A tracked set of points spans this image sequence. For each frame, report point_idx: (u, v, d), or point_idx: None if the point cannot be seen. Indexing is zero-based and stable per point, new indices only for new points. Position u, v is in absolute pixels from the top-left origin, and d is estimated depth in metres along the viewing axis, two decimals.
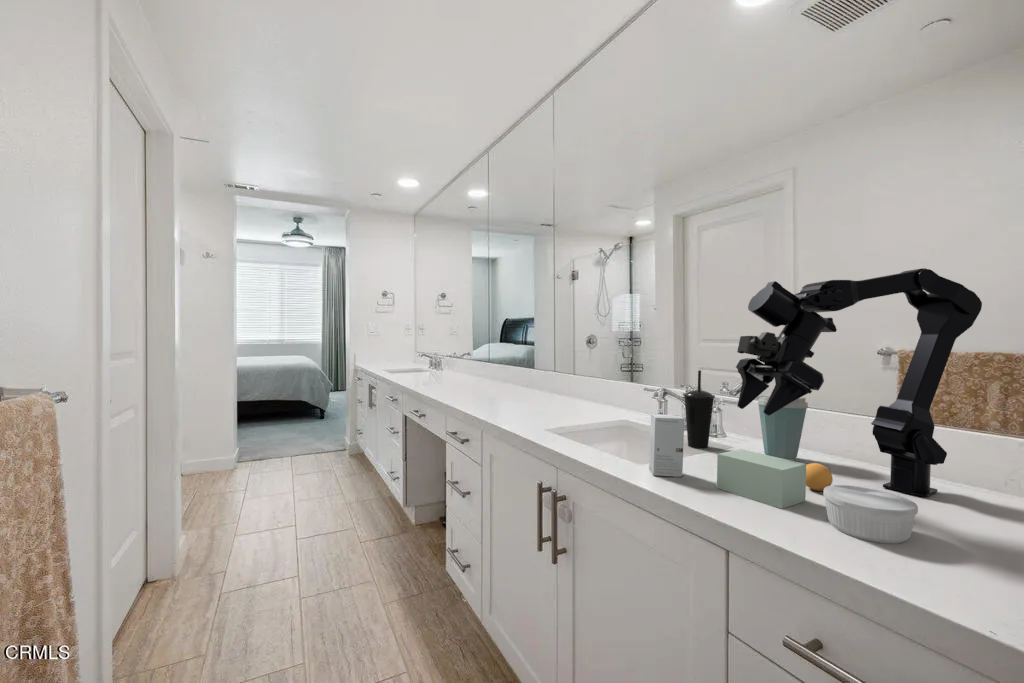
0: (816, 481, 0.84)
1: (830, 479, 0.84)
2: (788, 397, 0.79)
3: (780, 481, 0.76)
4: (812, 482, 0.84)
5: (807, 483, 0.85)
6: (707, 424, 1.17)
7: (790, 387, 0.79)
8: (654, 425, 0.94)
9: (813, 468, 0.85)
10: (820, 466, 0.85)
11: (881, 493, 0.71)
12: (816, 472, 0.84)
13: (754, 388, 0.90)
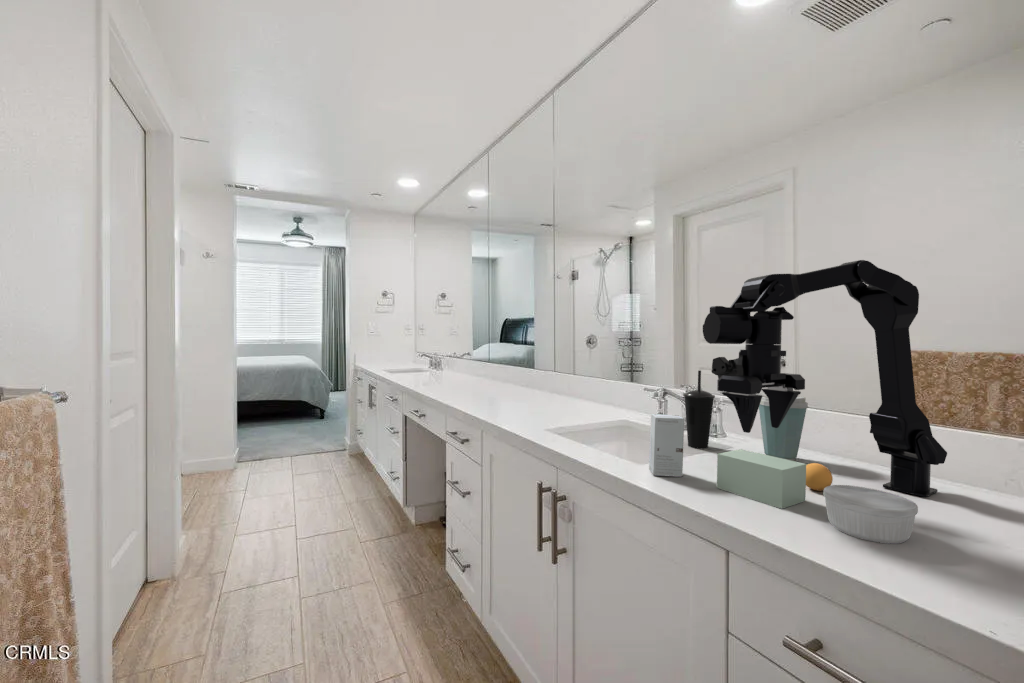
0: (816, 481, 0.84)
1: (830, 479, 0.84)
2: (748, 409, 0.79)
3: (780, 481, 0.76)
4: (812, 482, 0.84)
5: (807, 483, 0.85)
6: (707, 424, 1.17)
7: (746, 399, 0.80)
8: (654, 425, 0.94)
9: (813, 468, 0.85)
10: (820, 466, 0.85)
11: (881, 493, 0.71)
12: (816, 472, 0.84)
13: (780, 402, 0.85)
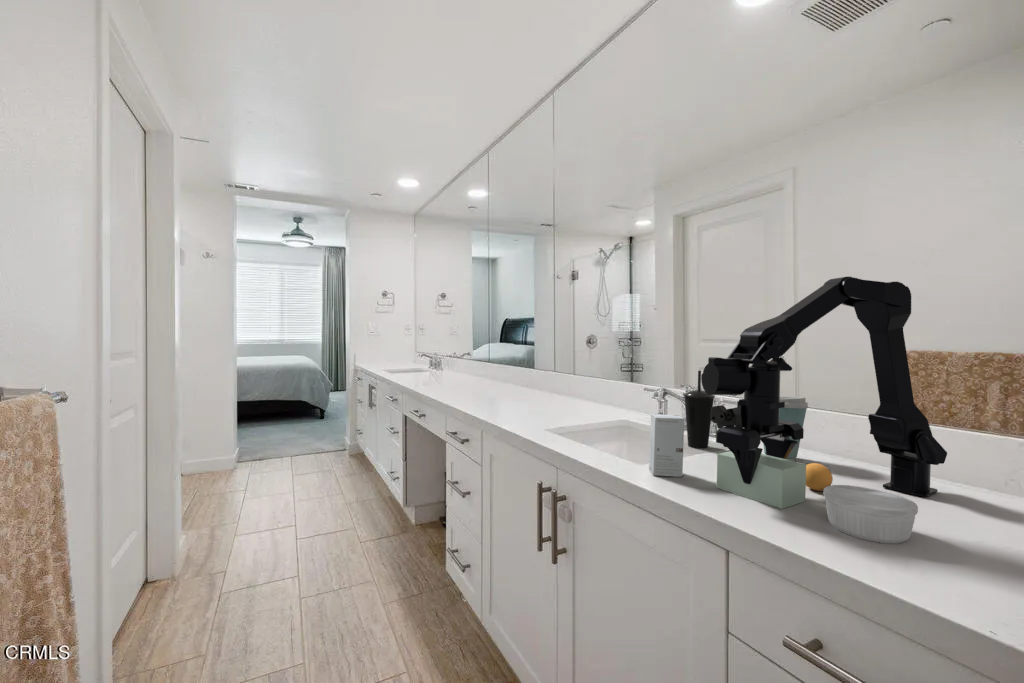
0: (816, 481, 0.84)
1: (830, 479, 0.84)
2: (748, 461, 0.79)
3: (780, 481, 0.76)
4: (812, 482, 0.84)
5: (807, 483, 0.85)
6: (707, 424, 1.17)
7: None
8: (654, 425, 0.94)
9: (813, 468, 0.85)
10: (820, 466, 0.85)
11: (881, 493, 0.71)
12: (816, 472, 0.84)
13: (777, 451, 0.85)
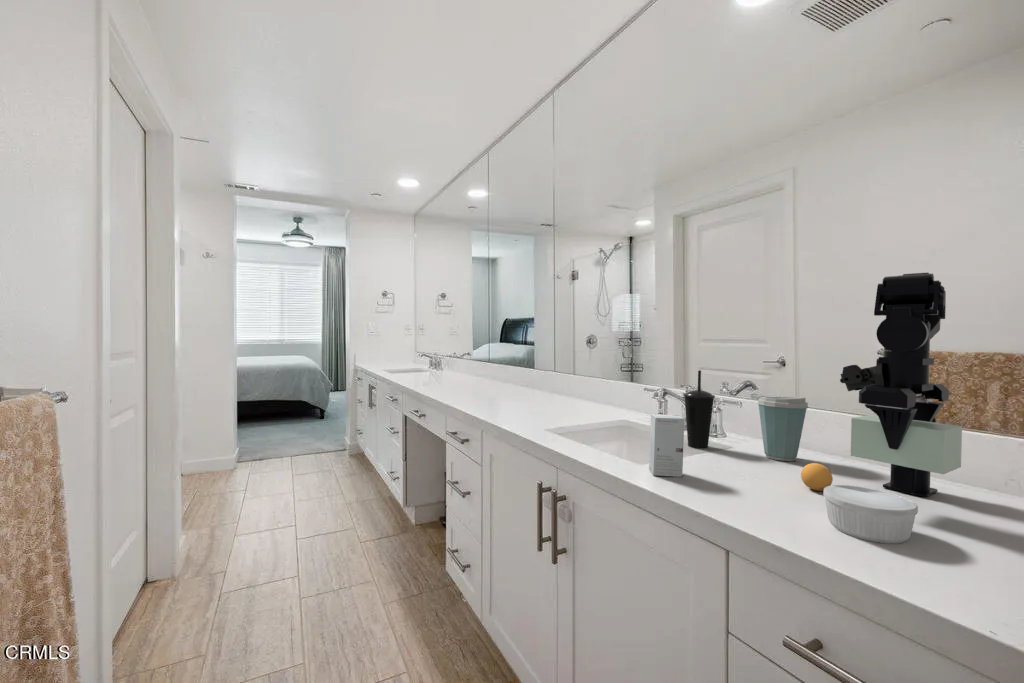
0: (816, 481, 0.84)
1: (830, 479, 0.84)
2: (898, 423, 0.71)
3: (941, 444, 0.68)
4: (812, 482, 0.84)
5: (807, 483, 0.85)
6: (707, 424, 1.17)
7: (895, 412, 0.72)
8: (654, 425, 0.94)
9: (813, 468, 0.85)
10: (820, 466, 0.85)
11: (881, 493, 0.71)
12: (816, 472, 0.84)
13: (919, 415, 0.77)
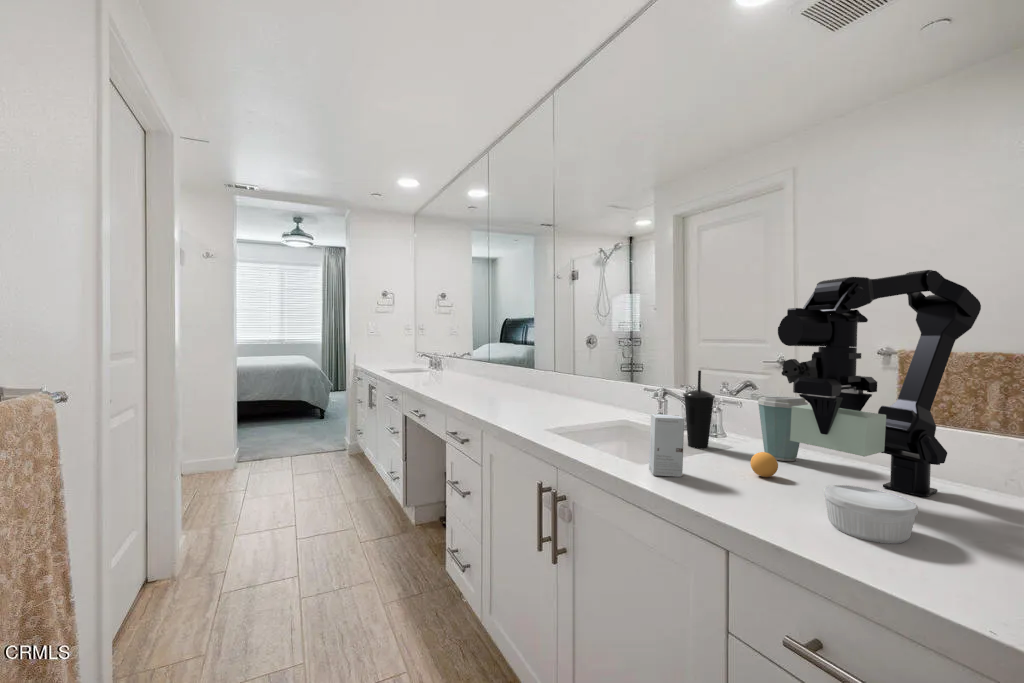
0: (754, 467, 0.93)
1: None
2: (827, 410, 0.80)
3: (863, 429, 0.76)
4: (755, 463, 0.93)
5: (758, 459, 0.93)
6: (707, 424, 1.17)
7: (824, 401, 0.80)
8: (654, 425, 0.94)
9: (765, 474, 0.92)
10: (765, 476, 0.93)
11: (881, 493, 0.71)
12: (760, 473, 0.93)
13: (850, 404, 0.85)
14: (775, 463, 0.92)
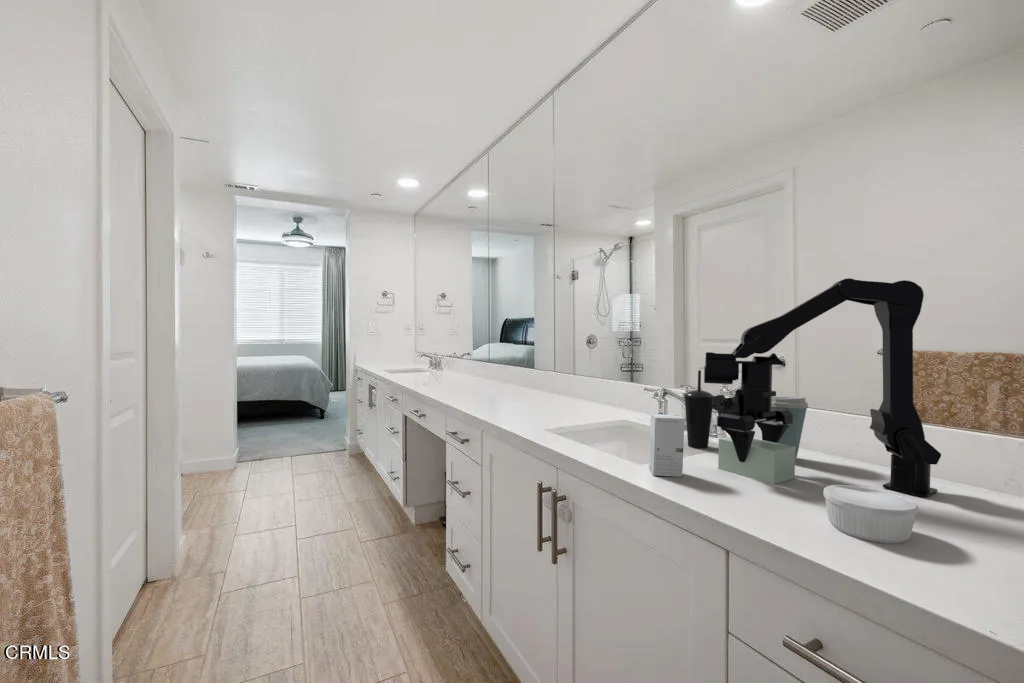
0: None
1: None
2: (743, 442, 0.92)
3: (772, 461, 0.89)
4: None
5: None
6: (707, 424, 1.17)
7: (741, 433, 0.93)
8: (654, 425, 0.94)
9: None
10: None
11: (881, 493, 0.71)
12: None
13: (771, 434, 0.98)
14: None
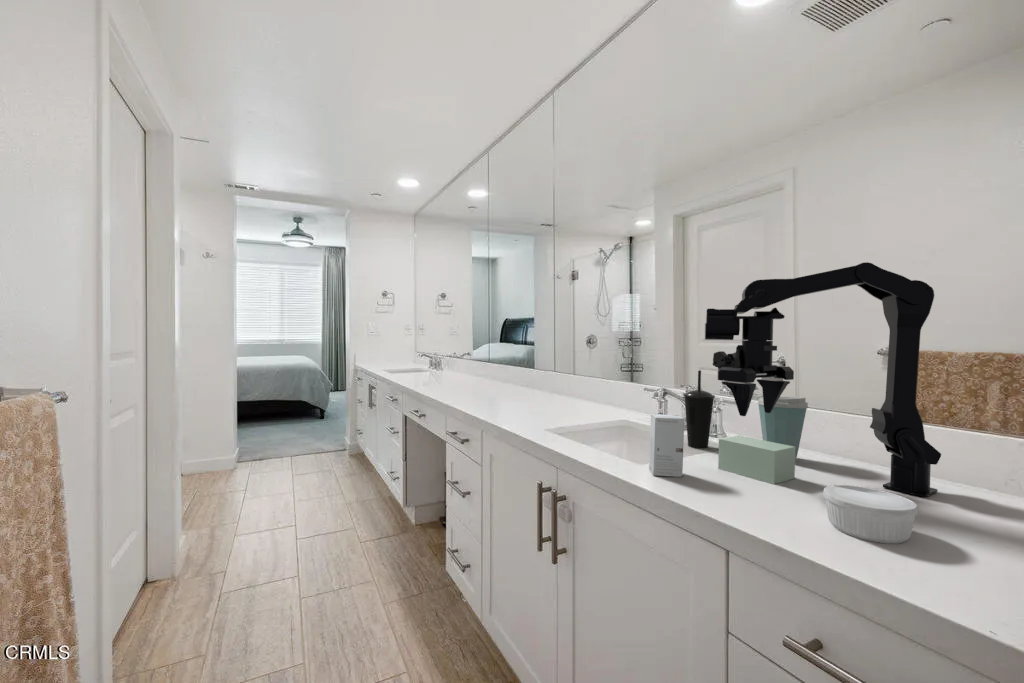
0: None
1: None
2: (744, 395, 0.92)
3: (772, 461, 0.89)
4: None
5: None
6: (707, 424, 1.17)
7: (742, 387, 0.93)
8: (654, 425, 0.94)
9: None
10: None
11: (881, 493, 0.71)
12: None
13: (772, 390, 0.98)
14: None
